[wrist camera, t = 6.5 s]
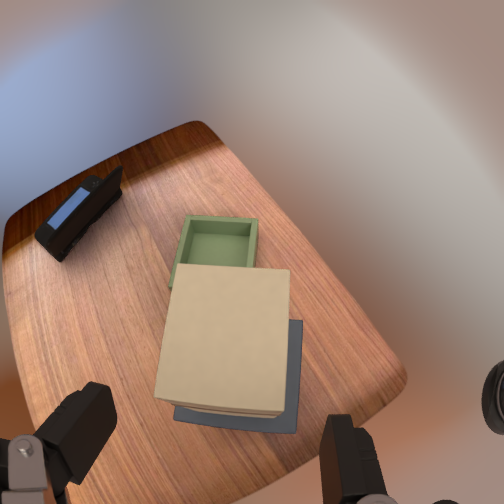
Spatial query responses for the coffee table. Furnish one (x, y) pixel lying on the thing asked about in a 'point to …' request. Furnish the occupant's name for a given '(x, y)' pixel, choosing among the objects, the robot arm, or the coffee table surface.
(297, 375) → the grey block
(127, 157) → the coffee table surface
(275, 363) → the tan lidded box
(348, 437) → the robot arm
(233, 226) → the socket
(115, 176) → the game console
